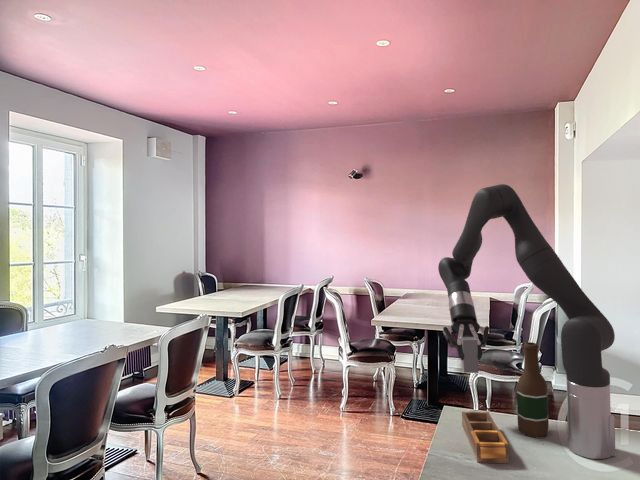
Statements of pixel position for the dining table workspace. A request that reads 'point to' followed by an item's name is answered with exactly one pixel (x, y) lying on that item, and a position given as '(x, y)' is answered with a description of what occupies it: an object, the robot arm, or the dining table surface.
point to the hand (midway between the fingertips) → (470, 358)
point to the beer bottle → (532, 396)
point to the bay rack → (485, 437)
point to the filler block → (469, 355)
